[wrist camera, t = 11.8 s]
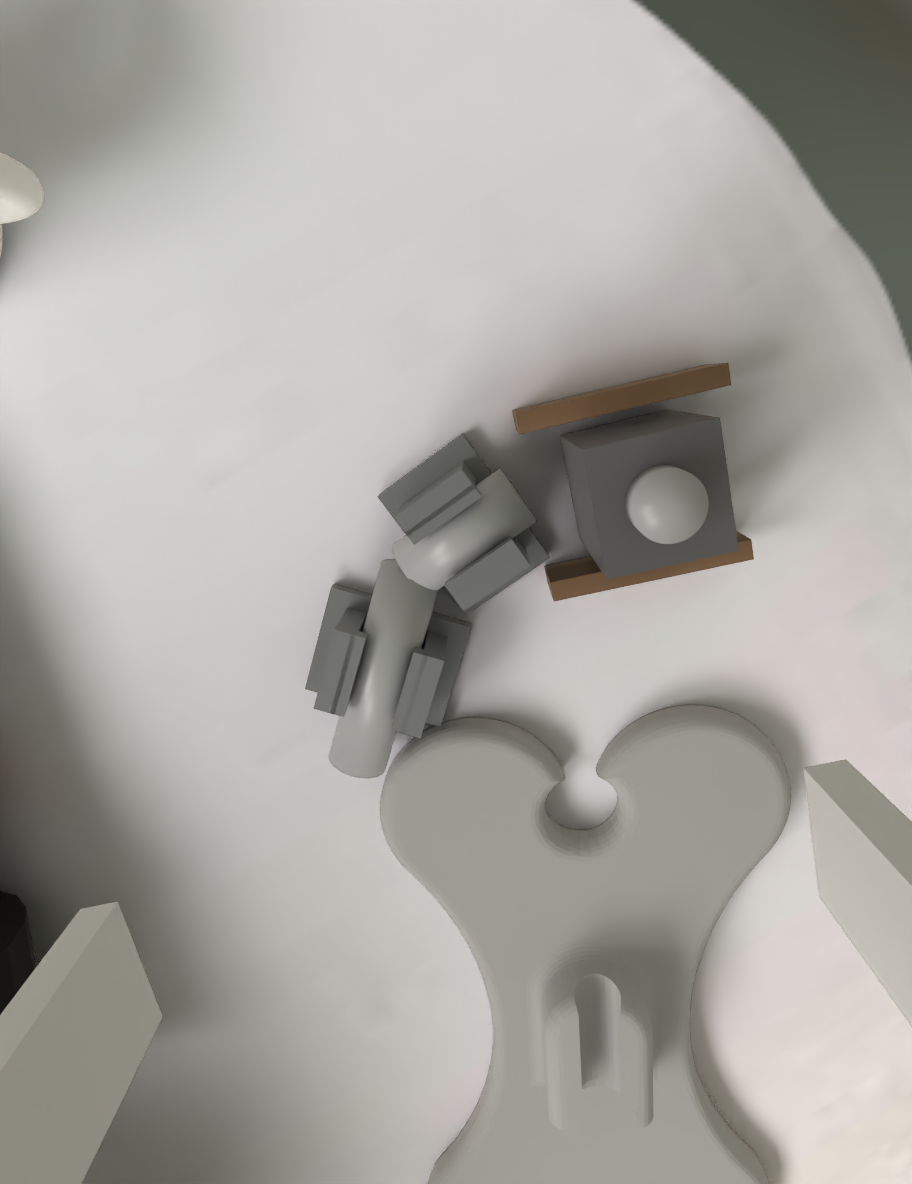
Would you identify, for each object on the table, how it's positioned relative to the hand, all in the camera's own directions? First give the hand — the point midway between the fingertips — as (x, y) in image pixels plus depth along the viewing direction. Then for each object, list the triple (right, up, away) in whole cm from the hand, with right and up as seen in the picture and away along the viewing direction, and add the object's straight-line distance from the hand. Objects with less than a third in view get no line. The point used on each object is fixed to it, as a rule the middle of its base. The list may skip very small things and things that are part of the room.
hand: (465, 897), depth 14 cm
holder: (+7, -16, +26) cm, 31 cm away
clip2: (0, +9, +18) cm, 20 cm away
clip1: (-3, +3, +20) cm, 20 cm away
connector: (+7, +11, +18) cm, 22 cm away
